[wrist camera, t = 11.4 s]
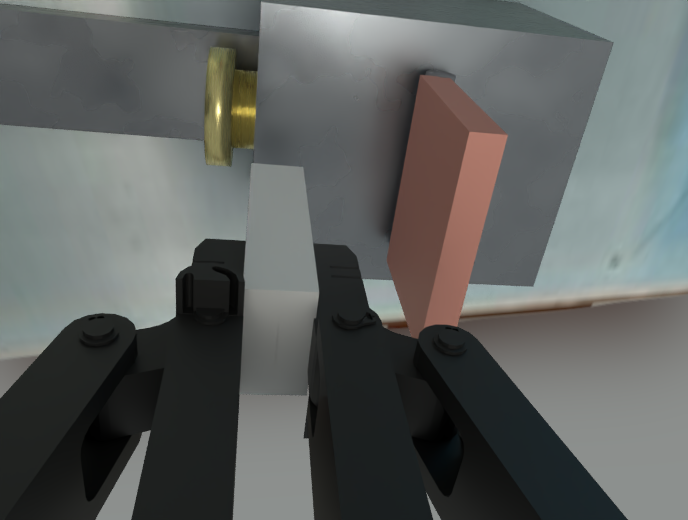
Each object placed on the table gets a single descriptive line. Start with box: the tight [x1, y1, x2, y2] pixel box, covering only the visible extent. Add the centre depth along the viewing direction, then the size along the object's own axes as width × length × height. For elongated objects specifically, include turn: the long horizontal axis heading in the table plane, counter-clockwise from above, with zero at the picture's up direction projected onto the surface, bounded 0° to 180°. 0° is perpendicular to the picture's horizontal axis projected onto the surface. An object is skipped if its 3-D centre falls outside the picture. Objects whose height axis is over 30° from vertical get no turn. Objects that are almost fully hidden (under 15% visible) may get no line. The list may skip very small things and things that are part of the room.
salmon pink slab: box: [386, 70, 508, 339], centre depth 20 cm, size 1×7×6 cm, turn 173°
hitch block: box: [0, 0, 614, 287], centre depth 25 cm, size 28×10×9 cm, turn 83°
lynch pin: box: [204, 47, 258, 167], centre depth 27 cm, size 15×5×5 cm, turn 83°
